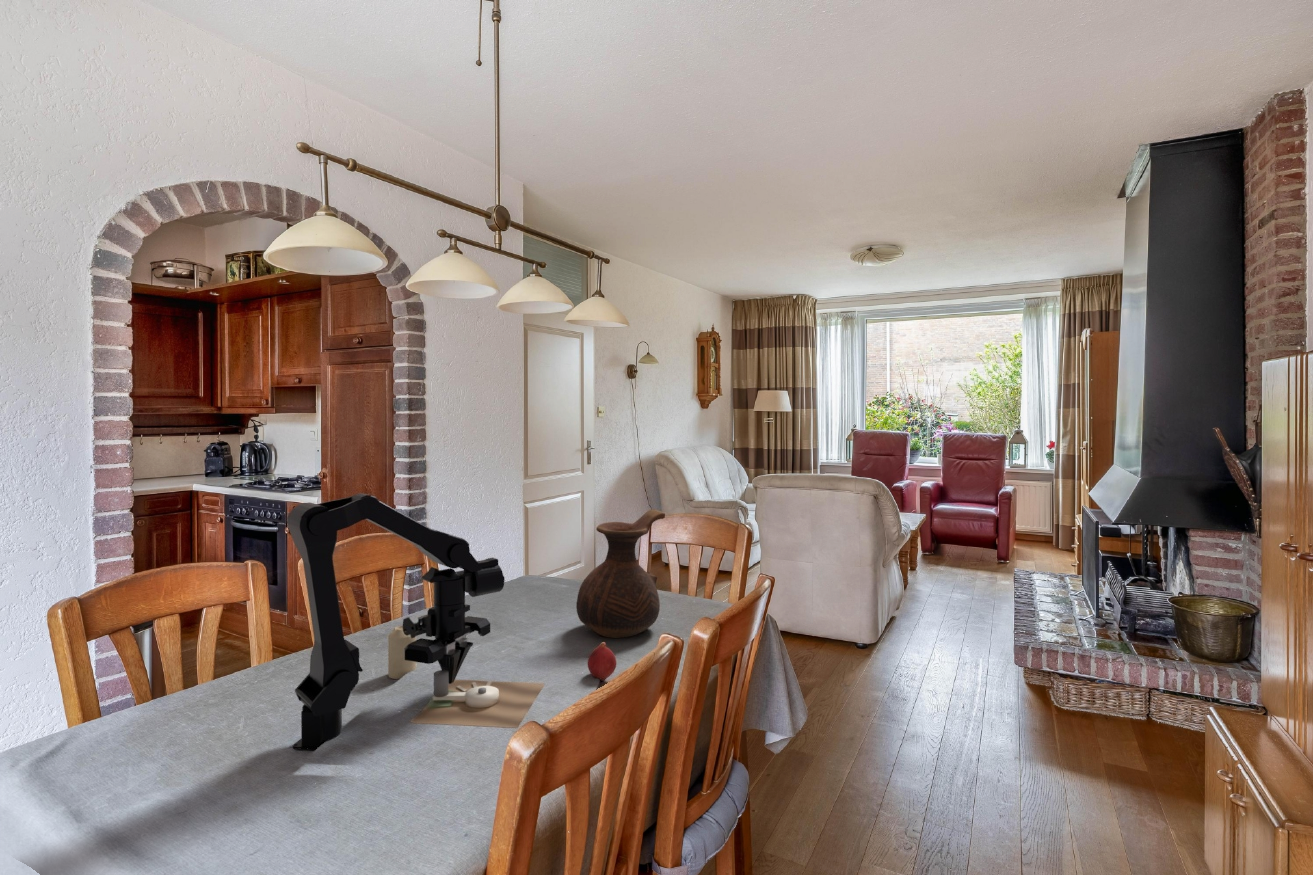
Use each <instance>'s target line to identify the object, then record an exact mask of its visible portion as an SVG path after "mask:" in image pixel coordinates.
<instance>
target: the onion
mask: <svg viewBox="0 0 1313 875" xmlns="http://www.w3.org/2000/svg"><path fill="white" fill-rule="evenodd" d="M616 668H617V658H616V655H615V654H614V652H613V651H612V650H611V649H610V648H609V647H607V643H606V642H605V641H603V642H601V643H600V644H599V645H598V646H597V647H595V648H594V649H593V650H592V651H591V653H590V654H589V656H588V659H587V669H588V671H589V673H590V674H591V675H592V676H593V677H594V678H597V679H599V681H601V682H604V681H606V680H607V679H608V678H609V677H611V676H612V674H614V672H615V670H616Z"/></svg>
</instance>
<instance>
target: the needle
mask: <svg viewBox="0 0 1313 875" xmlns="http://www.w3.org/2000/svg"><path fill="white" fill-rule="evenodd" d="M432 698H433V700H465V703H466V705H467V706H469V707H473V708H484V707H489V706H492V705H494V704H496V703H497V702H498V701H499V690H498V689H497V688H496V687H493V686H479V687H474V688H471V689H469V690H468V691H467V692H449V672H448V671H447V670H441V669H440V670H436V671H434V672H433V695H432Z"/></svg>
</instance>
